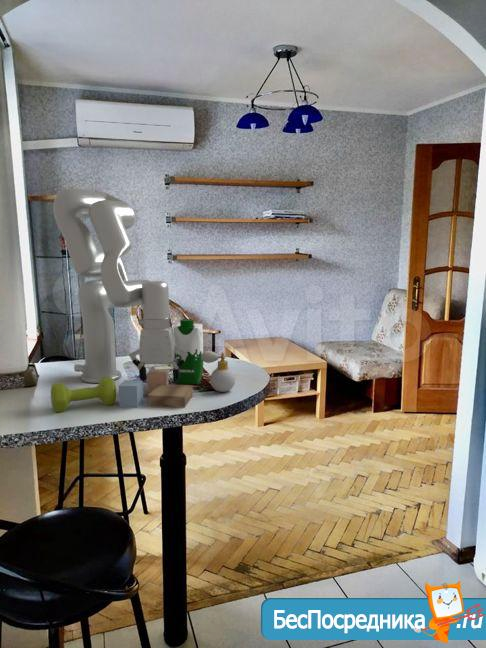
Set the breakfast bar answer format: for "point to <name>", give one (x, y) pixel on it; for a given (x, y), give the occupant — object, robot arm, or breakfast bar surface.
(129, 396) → the slate block
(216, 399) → the breakfast bar surface
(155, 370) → the terracotta block
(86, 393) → the dumbbell
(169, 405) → the walnut base
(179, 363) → the robot arm
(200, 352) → the milk carton
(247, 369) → the breakfast bar surface
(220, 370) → the perfume bottle
